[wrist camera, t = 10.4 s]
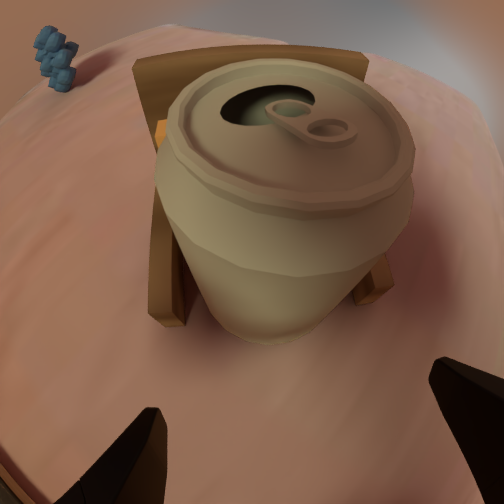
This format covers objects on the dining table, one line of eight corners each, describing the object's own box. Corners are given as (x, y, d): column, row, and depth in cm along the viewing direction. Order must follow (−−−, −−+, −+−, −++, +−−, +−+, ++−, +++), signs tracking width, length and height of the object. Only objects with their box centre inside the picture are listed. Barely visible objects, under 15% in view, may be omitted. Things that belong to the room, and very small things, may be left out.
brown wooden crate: (372, 302, 16) (475, 208, 7) (165, 327, 15) (69, 241, 6) (329, 165, 21) (360, 52, 12) (169, 177, 20) (136, 59, 11)
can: (280, 210, 19) (305, 36, 8) (354, 297, 16) (478, 154, 6) (181, 267, 17) (106, 94, 6) (251, 373, 14) (258, 332, 4)
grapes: (106, 79, 29) (85, 8, 19) (66, 107, 27) (37, 34, 16) (75, 72, 32) (56, 16, 22) (42, 95, 30) (19, 38, 19)
